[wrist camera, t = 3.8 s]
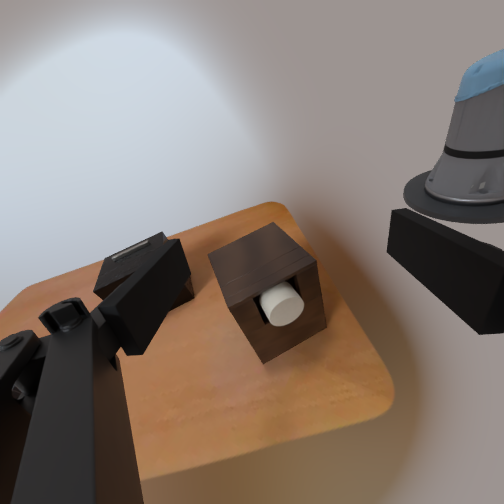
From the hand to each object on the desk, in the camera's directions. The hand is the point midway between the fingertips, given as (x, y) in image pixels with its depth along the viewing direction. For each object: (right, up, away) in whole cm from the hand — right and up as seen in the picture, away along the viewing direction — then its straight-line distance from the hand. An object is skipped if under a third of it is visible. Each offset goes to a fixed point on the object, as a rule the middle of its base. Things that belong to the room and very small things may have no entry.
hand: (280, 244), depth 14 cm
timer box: (+2, -11, +19) cm, 22 cm away
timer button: (+2, -7, +10) cm, 13 cm away
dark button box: (-20, -10, +31) cm, 38 cm away
